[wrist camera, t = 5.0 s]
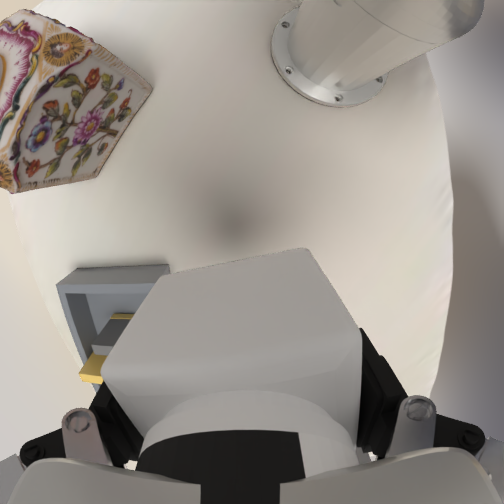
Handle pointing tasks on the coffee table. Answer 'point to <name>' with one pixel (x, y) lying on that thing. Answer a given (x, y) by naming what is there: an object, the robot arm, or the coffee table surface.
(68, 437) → the robot arm
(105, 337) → the pusher
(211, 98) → the coffee table surface
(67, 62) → the decorative jar
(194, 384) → the medicine bottle
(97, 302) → the gray tray
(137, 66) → the coffee table surface
